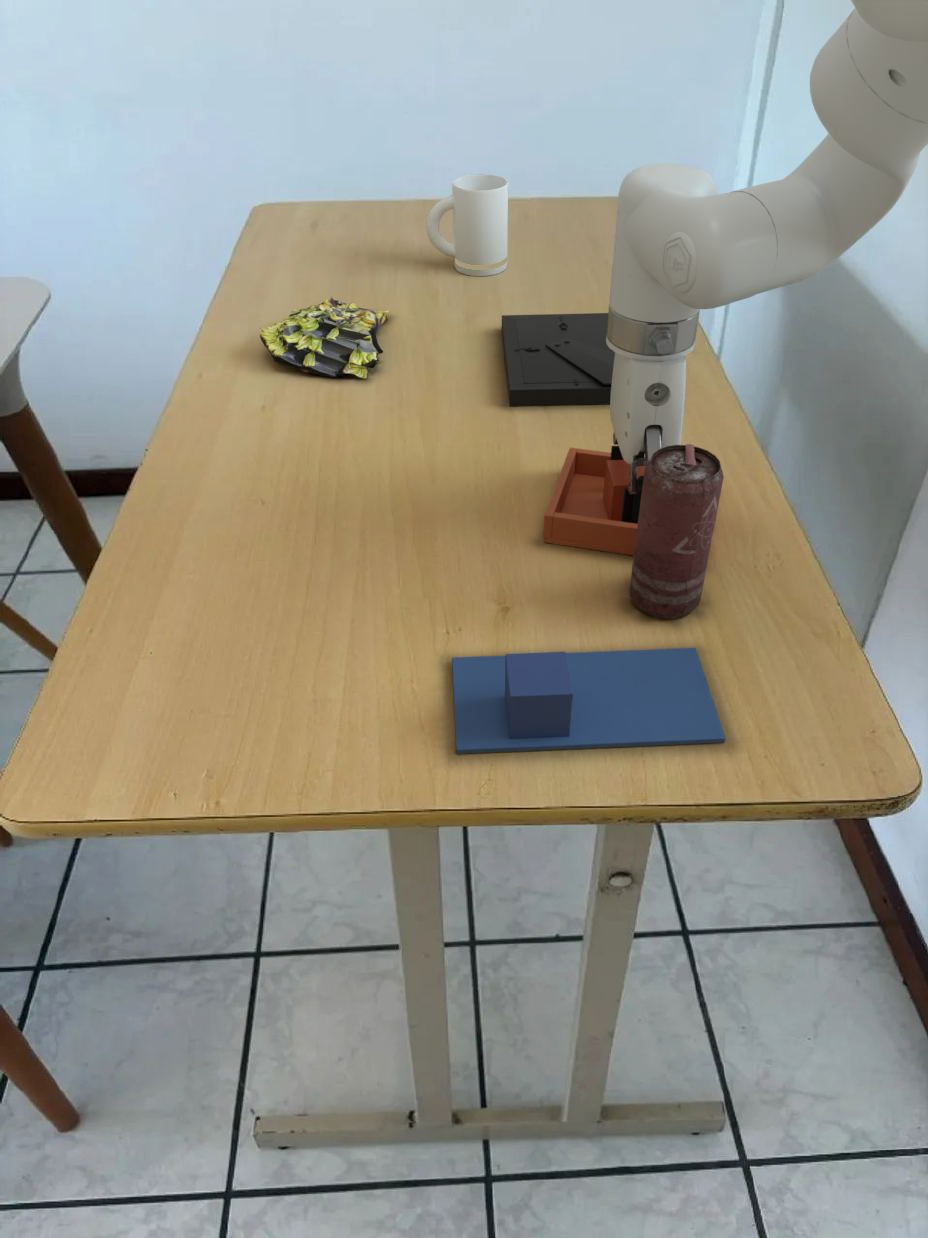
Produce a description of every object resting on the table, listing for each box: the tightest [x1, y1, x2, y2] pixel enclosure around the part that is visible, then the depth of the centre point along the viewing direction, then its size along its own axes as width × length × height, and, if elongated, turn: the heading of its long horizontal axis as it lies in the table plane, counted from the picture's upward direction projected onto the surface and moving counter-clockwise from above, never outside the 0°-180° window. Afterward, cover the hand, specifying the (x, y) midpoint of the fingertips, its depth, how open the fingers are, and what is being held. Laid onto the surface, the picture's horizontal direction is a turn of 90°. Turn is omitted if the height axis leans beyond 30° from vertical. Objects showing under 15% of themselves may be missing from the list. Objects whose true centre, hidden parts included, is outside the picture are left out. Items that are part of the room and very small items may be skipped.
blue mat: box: [451, 647, 727, 755], centre depth 75 cm, size 20×10×1 cm, turn 92°
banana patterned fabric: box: [259, 296, 390, 379], centre depth 124 cm, size 20×16×7 cm
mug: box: [425, 173, 509, 277], centre depth 140 cm, size 8×12×12 cm
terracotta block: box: [603, 460, 646, 521], centre depth 92 cm, size 4×4×4 cm
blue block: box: [505, 651, 573, 739], centre depth 71 cm, size 4×4×4 cm
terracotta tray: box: [542, 447, 645, 557], centre depth 93 cm, size 15×13×3 cm
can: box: [629, 443, 724, 620], centre depth 80 cm, size 6×6×14 cm
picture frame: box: [501, 312, 615, 407], centre depth 118 cm, size 16×3×21 cm
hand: (631, 501), depth 93 cm, fingers open, 6 cm apart
